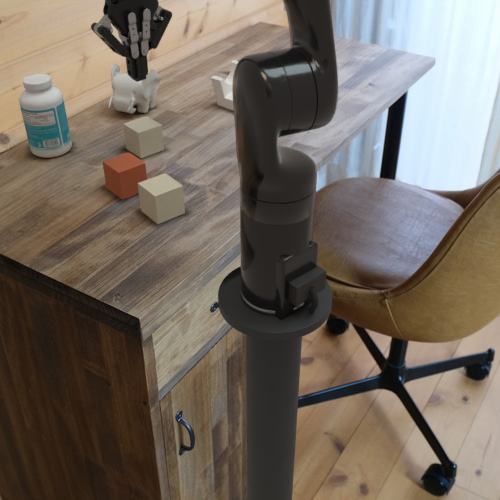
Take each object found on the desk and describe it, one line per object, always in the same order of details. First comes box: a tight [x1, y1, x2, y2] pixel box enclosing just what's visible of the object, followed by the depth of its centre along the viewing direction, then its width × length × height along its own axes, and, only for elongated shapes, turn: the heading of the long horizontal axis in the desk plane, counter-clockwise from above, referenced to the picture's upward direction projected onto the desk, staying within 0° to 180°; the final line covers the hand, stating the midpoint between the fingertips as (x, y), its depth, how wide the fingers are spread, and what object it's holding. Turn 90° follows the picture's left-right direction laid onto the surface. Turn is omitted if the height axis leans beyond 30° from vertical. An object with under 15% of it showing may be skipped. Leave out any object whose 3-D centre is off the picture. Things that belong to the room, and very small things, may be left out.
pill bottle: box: [18, 73, 73, 159], centre depth 114 cm, size 8×7×14 cm
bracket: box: [210, 59, 239, 112], centre depth 130 cm, size 13×7×8 cm, turn 49°
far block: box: [122, 115, 165, 159], centre depth 116 cm, size 5×5×5 cm
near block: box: [138, 172, 186, 225], centre depth 99 cm, size 5×5×5 cm
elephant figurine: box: [108, 63, 162, 115], centre depth 129 cm, size 10×12×9 cm
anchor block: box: [102, 151, 148, 201], centre depth 105 cm, size 5×5×5 cm
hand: (138, 79), depth 99 cm, fingers closed
